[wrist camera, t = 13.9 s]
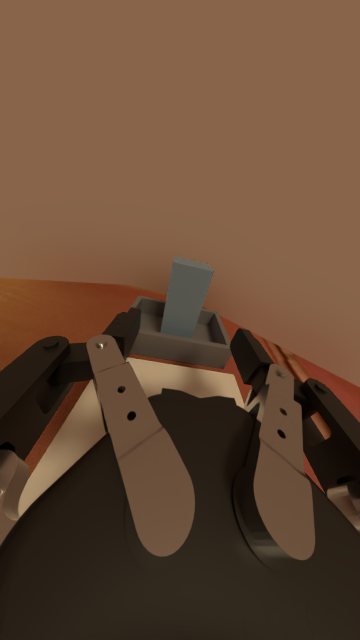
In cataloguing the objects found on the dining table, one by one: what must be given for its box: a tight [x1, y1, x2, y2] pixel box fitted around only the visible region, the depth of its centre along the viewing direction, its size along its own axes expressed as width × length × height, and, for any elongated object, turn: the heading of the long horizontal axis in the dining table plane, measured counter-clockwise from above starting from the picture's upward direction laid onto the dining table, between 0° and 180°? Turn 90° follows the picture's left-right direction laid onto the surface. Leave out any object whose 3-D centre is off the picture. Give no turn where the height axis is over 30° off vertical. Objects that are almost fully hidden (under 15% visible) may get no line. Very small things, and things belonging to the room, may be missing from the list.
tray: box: [127, 296, 232, 369], centre depth 24 cm, size 16×11×4 cm
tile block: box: [160, 256, 214, 339], centre depth 22 cm, size 5×5×12 cm
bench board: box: [18, 358, 244, 517], centre depth 13 cm, size 16×12×2 cm
